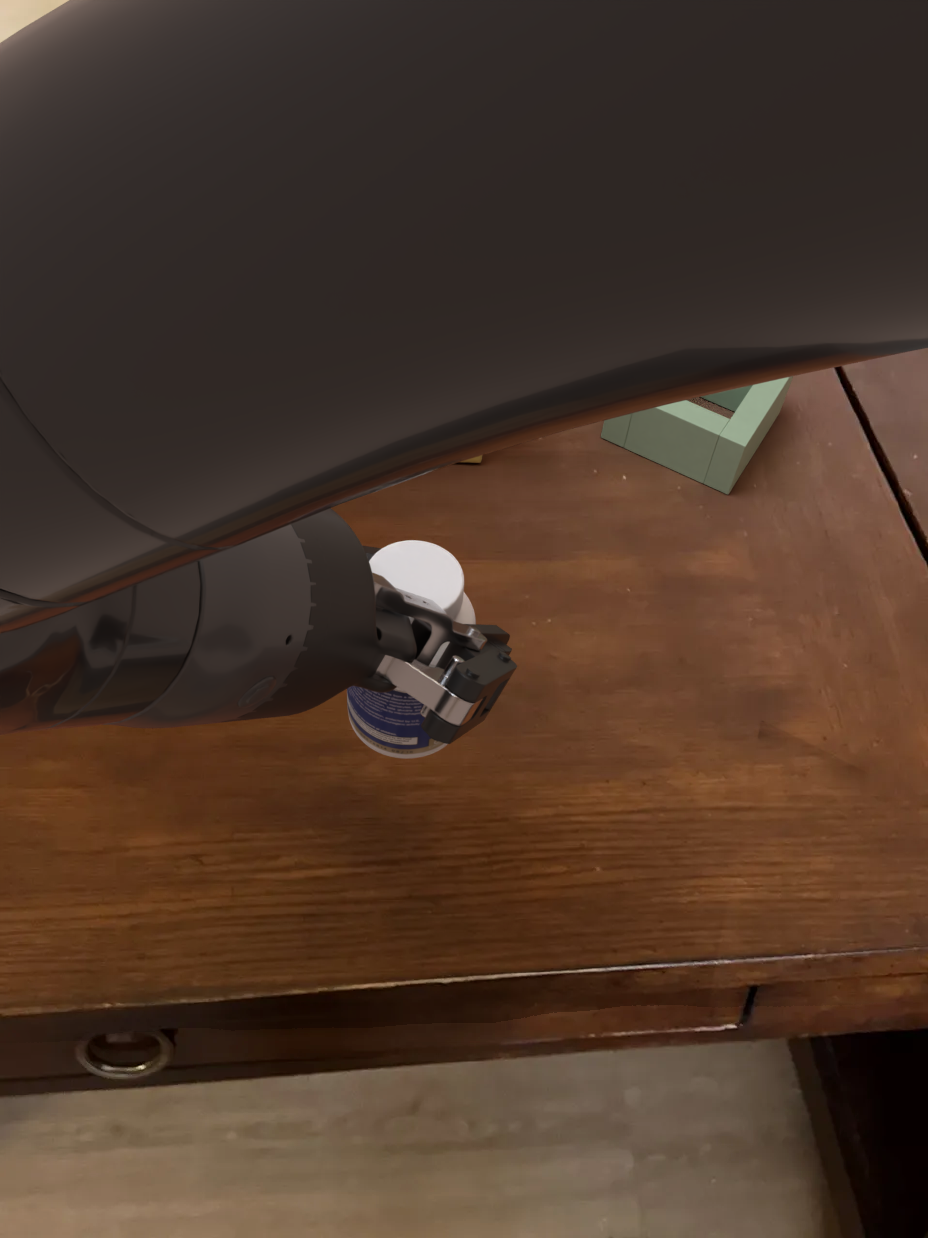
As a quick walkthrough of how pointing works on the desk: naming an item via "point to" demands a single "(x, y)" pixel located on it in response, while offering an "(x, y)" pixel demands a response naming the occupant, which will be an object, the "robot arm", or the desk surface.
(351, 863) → the desk surface
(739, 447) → the holder
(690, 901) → the desk surface
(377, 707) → the pill bottle
